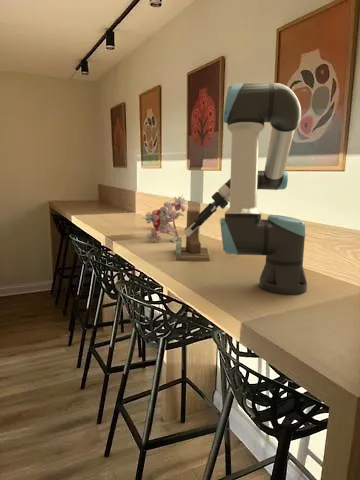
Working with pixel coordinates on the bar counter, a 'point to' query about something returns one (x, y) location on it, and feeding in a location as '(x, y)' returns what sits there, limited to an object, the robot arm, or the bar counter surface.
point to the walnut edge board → (187, 256)
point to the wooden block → (193, 240)
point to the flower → (165, 219)
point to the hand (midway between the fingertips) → (186, 232)
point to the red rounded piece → (157, 220)
